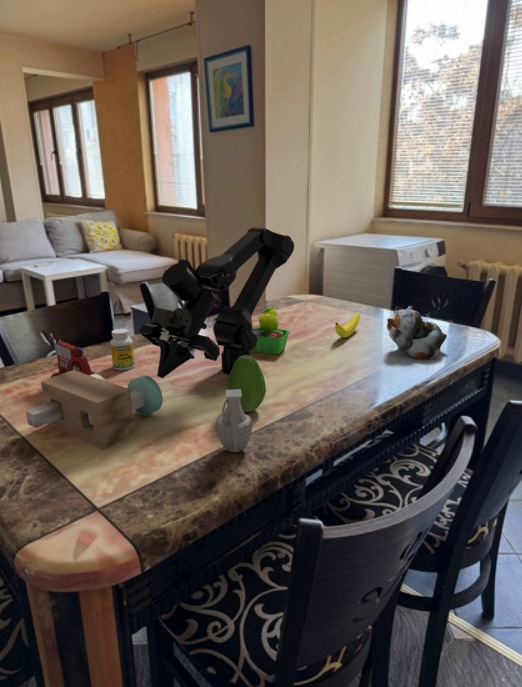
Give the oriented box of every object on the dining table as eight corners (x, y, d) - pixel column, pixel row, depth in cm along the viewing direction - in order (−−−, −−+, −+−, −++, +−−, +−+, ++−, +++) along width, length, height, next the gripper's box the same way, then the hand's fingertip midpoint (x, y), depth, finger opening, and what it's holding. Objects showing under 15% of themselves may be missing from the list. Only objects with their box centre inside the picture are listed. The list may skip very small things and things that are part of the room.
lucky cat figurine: (432, 364, 124) (408, 317, 121) (392, 370, 133) (369, 326, 130) (454, 334, 133) (433, 289, 130) (416, 341, 142) (395, 300, 139)
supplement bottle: (130, 361, 129) (127, 326, 126) (138, 368, 124) (134, 331, 121) (110, 366, 126) (106, 330, 123) (117, 372, 122) (112, 335, 119)
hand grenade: (218, 442, 89) (216, 386, 85) (250, 440, 89) (249, 384, 86) (218, 461, 83) (215, 402, 79) (253, 460, 83) (252, 400, 80)
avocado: (252, 422, 96) (251, 364, 92) (219, 413, 100) (217, 357, 96) (273, 406, 102) (272, 352, 99) (241, 398, 106) (240, 346, 103)
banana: (363, 327, 155) (364, 308, 153) (340, 345, 140) (341, 323, 138) (354, 326, 156) (355, 307, 154) (330, 343, 141) (331, 322, 139)
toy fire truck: (77, 401, 106) (70, 356, 103) (48, 387, 114) (41, 344, 111) (105, 391, 111) (100, 347, 108) (76, 378, 119) (70, 336, 116)
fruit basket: (241, 352, 135) (240, 311, 132) (254, 342, 143) (253, 304, 139) (281, 356, 131) (281, 315, 127) (291, 346, 139) (292, 307, 135)
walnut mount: (90, 406, 104) (84, 365, 101) (145, 427, 94) (141, 384, 92) (22, 434, 92) (14, 390, 90) (78, 463, 83) (71, 414, 80)
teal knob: (138, 406, 102) (134, 371, 100) (164, 415, 98) (161, 379, 96) (82, 432, 92) (77, 394, 90) (108, 443, 88) (104, 404, 86)
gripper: (141, 286, 105) (104, 349, 100) (208, 297, 94) (170, 368, 89) (171, 314, 113) (137, 374, 108) (235, 327, 103) (201, 393, 98)
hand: (159, 377), depth 101 cm, fingers closed
